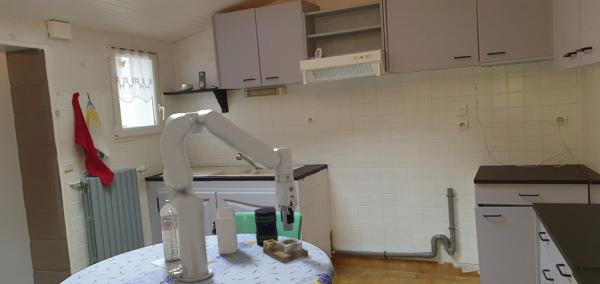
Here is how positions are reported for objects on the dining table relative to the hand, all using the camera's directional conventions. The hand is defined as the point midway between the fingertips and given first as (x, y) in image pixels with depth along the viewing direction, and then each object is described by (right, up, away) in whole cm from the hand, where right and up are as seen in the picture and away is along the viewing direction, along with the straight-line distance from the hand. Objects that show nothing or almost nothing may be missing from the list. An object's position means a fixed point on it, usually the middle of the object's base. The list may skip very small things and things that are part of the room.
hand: (287, 221), depth 179 cm
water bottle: (-48, -17, +4) cm, 51 cm away
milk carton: (-26, -15, +10) cm, 31 cm away
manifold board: (-1, -13, +1) cm, 13 cm away
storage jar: (-10, -13, +18) cm, 24 cm away
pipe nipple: (0, -3, 0) cm, 3 cm away
